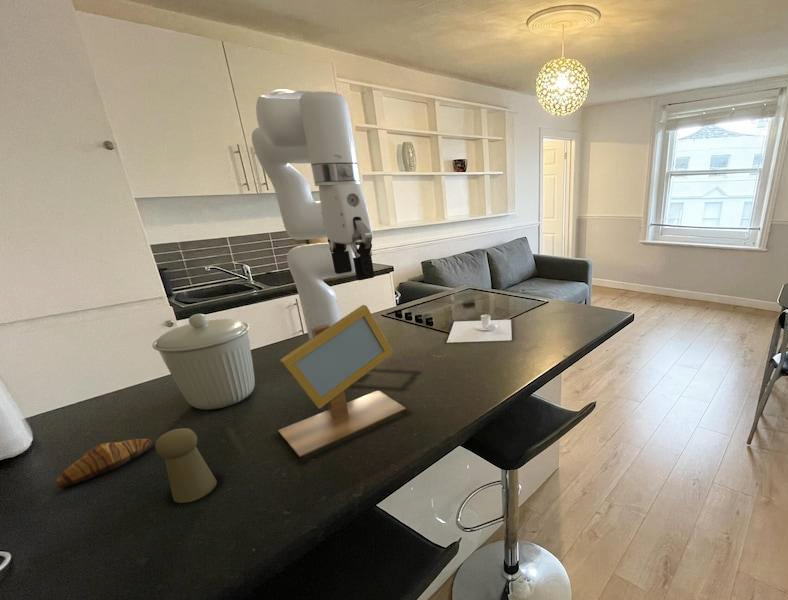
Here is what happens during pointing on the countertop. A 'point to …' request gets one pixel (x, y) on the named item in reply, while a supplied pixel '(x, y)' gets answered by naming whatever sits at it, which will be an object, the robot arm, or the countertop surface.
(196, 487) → the cork
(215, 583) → the countertop surface
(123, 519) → the countertop surface
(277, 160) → the robot arm
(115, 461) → the croissant
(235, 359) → the canister
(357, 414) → the display stand
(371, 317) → the picture frame
